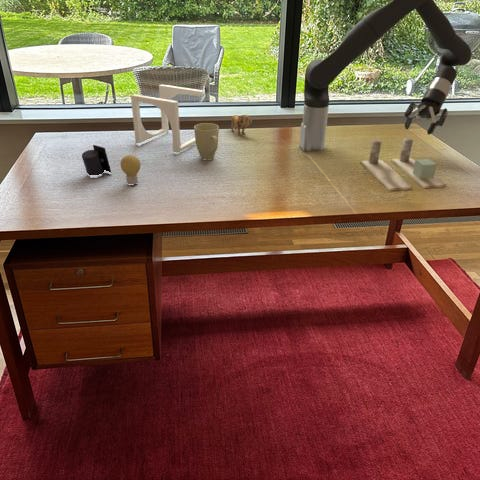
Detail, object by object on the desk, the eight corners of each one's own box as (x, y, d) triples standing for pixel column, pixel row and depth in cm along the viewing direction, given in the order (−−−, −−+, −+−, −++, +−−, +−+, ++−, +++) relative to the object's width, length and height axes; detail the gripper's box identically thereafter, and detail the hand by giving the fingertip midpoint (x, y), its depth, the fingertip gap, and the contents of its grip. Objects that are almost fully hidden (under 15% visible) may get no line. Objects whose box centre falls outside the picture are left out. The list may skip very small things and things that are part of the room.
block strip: (423, 188, 160) (428, 163, 156) (391, 161, 181) (395, 138, 176) (445, 186, 162) (451, 161, 157) (411, 159, 182) (415, 137, 178)
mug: (190, 161, 181) (188, 129, 175) (201, 152, 189) (200, 121, 183) (216, 165, 178) (216, 133, 172) (227, 156, 186) (227, 125, 180)
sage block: (419, 178, 165) (422, 165, 162) (412, 173, 169) (415, 159, 167) (433, 178, 166) (436, 164, 163) (426, 172, 170) (429, 158, 167)
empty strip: (389, 190, 159) (393, 165, 154) (360, 163, 179) (364, 139, 174) (412, 189, 160) (417, 163, 155) (381, 161, 180) (385, 138, 176)
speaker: (105, 168, 173) (98, 141, 167) (112, 174, 170) (106, 147, 163) (84, 175, 170) (77, 148, 164) (91, 182, 166) (84, 154, 160)
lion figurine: (253, 136, 206) (253, 115, 202) (242, 138, 204) (243, 117, 199) (233, 126, 217) (233, 106, 212) (223, 129, 214) (223, 108, 209)
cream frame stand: (165, 131, 210) (161, 84, 200) (205, 139, 202) (203, 90, 192) (135, 146, 195) (130, 95, 184) (177, 154, 187) (174, 102, 176)
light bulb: (145, 181, 165) (143, 153, 160) (136, 189, 160) (133, 160, 154) (129, 179, 166) (126, 151, 161) (119, 186, 161) (115, 158, 156)
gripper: (416, 84, 181) (397, 121, 180) (454, 90, 173) (434, 129, 172) (419, 95, 188) (401, 132, 186) (456, 102, 180) (437, 140, 178)
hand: (417, 130), depth 179 cm, fingers open, 8 cm apart
